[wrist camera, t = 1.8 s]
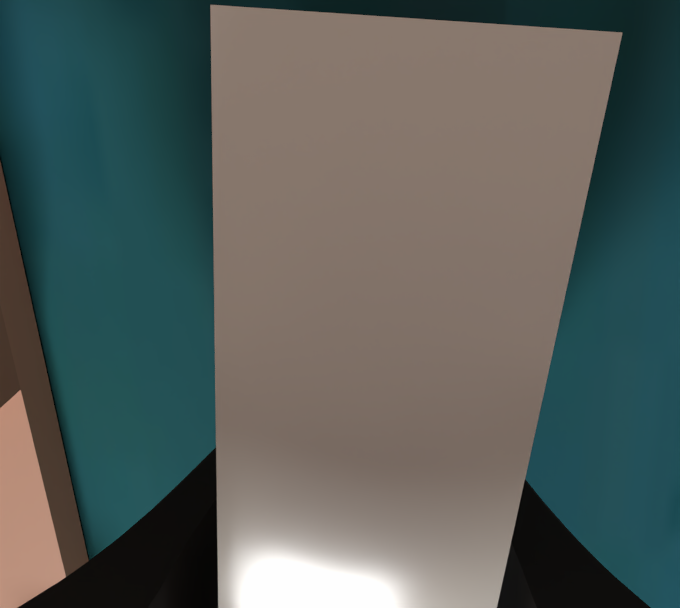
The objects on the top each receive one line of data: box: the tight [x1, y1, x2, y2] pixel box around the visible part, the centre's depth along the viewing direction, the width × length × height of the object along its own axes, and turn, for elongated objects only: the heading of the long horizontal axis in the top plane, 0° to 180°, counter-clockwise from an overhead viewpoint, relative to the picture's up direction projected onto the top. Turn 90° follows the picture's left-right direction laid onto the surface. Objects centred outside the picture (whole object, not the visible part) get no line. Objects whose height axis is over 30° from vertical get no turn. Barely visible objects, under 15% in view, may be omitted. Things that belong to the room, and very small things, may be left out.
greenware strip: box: [210, 5, 622, 608], centre depth 11 cm, size 4×16×6 cm, turn 176°
